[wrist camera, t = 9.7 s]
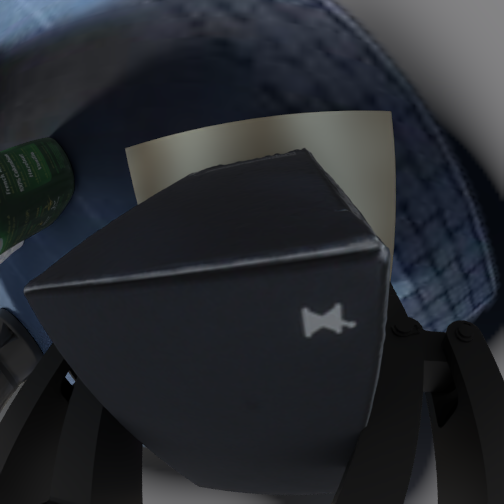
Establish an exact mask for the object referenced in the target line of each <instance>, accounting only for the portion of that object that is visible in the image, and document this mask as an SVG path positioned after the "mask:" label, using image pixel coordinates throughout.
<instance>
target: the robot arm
mask: <svg viewBox="0 0 504 504" xmlns="http://www.w3.org/2000/svg"><path fill="white" fill-rule="evenodd" d="M385 333H386V336H385V340H384V344H383V354H382V359H381V366H380V372H379V378H378V383H377V387H376V391H375V395H374V400H373V405H372V409H371V413H370V417H369V420H368V423H367V426H366V427H365V428H364V429H363V430H362V431H361V433H360V436H359V439H358V441H357V443H356V446H355V448H354V451H353V453H352V455H351V457H350V460H349V462H348V464H347V466H346V469H345V471H344V474H343V477H342V479H341V482H340V484H339V487H338V489H337V491H336V494H335V496H334V499H333V501H332V503H331V504H403V503H404V499H405V496H406V492H407V489H408V485H409V481H410V477H411V472H412V468H413V463H414V458H415V452H416V447H417V441H418V434H419V427H420V418H421V409H422V397H423V392H425V395H426V400H427V405H428V410H429V416H430V421H431V428H432V434H433V442H434V449H435V459H436V470H437V487H438V504H504V380H503V378H502V375H501V373H500V371H499V368H498V366H497V364H496V362H495V359H494V357H493V355H492V353H491V351H490V349H489V347H488V345H487V343H486V341H485V339H484V337H483V335H482V333H481V332H480V330H479V329H478V327H477V326H475V325H474V324H472V323H470V322H467V321H455V322H452V323H451V324H450V325H449V326H448V328H447V331H446V333H444V332H431V331H426V330H423V328H422V326H421V324H420V323H419V322H418V321H416V320H414V319H413V318H410V317H408V316H407V314H406V312H405V309H404V307H403V305H402V303H401V302H400V300H399V298H398V296H397V295H396V292H395V290H394V289H393V286H392V284H391V282H390V283H389V297H388V308H387V322H386V326H385ZM68 372H69V374H70V375H71V376H72V378H73V379H74V380H75V383H74V384H73V385H71V384H70V383H69V381H68V380H67V379H66V378H65V376H66V375H67V373H68ZM23 382H25V383H24V385H23V386H22V388H21V389H20V391H19V392H18V394H17V395H16V397H15V399H14V400H13V402H12V403H11V405H10V407H9V409H8V410H7V412H6V414H5V416H4V417H3V419H2V421H1V422H0V504H143V503H142V443H141V442H140V441H139V440H138V439H137V438H136V437H134V436H133V435H132V434H131V433H130V432H129V431H128V430H127V429H126V428H125V427H124V426H123V425H122V424H121V423H120V422H119V421H118V420H117V419H116V418H115V417H114V416H113V415H112V414H111V413H110V412H109V411H108V410H107V409H106V408H105V407H104V406H103V405H102V404H101V403H100V402H99V400H98V399H97V398H96V397H95V396H94V395H93V394H92V393H91V391H90V390H89V389H88V388H87V387H86V386H85V384H84V383H83V382H82V381H81V380H80V378H79V377H78V376H77V374H76V373H75V372H74V371H73V369H72V368H71V367H70V365H69V364H68V363H67V361H66V360H65V359H64V357H63V356H62V355H61V353H60V352H59V350H58V349H57V348H56V346H55V345H54V343H52V345H51V346H50V347H49V349H48V350H47V351H46V353H45V354H44V356H43V354H42V352H41V350H40V348H39V347H38V345H37V344H36V342H35V341H34V339H33V338H32V337H31V335H30V334H29V333H28V331H27V330H26V329H25V328H24V326H23V325H22V324H21V323H20V322H19V321H18V320H17V319H16V318H15V317H14V316H13V315H12V314H11V313H10V312H8V311H7V310H5V309H0V412H1V411H2V410H3V408H4V407H5V405H6V404H7V402H8V401H9V399H10V398H11V396H12V395H13V393H14V392H15V391H16V389H17V388H18V387H19V385H20V384H22V383H23Z"/></svg>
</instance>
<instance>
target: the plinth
mask: <svg viewBox="0 0 504 504" xmlns="http://www.w3.org/2000/svg"><path fill="white" fill-rule="evenodd" d="M302 148H306V149H307V150H308V151H309V152H311V153H312V155H313V156H314V158H315V159H316V161H317V162H318V163H319V164H320V166H322V168H323V169H324V171H325V172H327V173H328V174H329V175H330V176H331V177H332V178H333V179H334V181H335V182H336V184H338V185H339V187H340V188H341V189H342V190H343V191H344V193H345V194H346V195H347V196H348V197H349V198H350V200H351V201H352V203H353V204H354V205H355V206H356V207H357V209H358V210H359V211H360V212H361V213H362V215H363V216H364V218H365V219H366V221H367V222H368V224H369V225H370V226H371V228H372V229H373V231H374V233H375V234H376V235H377V236H378V237H379V238H380V239H381V241H382V242H383V243H384V244H385V245H386V246H387V247H388V248H389V250H390V254H391V263H390V281H391V272H392V262H393V250H394V236H395V213H396V173H395V150H394V136H393V125H392V115H391V111H329V112H312V113H299V114H288V115H279V116H270V117H262V118H255V119H248V120H242V121H236V122H230V123H224V124H219V125H214V126H209V127H204V128H199V129H195V130H190V131H186V132H182V133H178V134H174V135H170V136H166V137H162V138H158V139H155V140H151V141H148V142H144V143H141V144H138V145H134V146H131V147H128V148H125V150H126V155H127V160H128V165H129V170H130V174H131V179H132V183H133V187H134V191H135V195H136V199H137V203H138V204H140V203H142V202H144V201H145V200H147V199H148V198H150V197H151V196H153V195H154V194H157V193H158V192H160V191H161V190H163V189H165V188H167V187H168V186H170V185H172V184H174V183H175V182H177V181H179V180H180V179H182V178H184V177H186V176H187V175H189V174H191V173H195V172H199V171H201V170H204V169H206V168H210V167H212V166H217V165H219V164H222V165H227V164H232V163H235V162H238V161H246V160H252V159H255V158H262V157H264V156H267V155H271V156H272V155H274V154H276V153H279V154H284V153H288V152H289V151H293V150H296V149H299V150H301V149H302Z"/></svg>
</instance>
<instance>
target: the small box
mask: <svg viewBox="0 0 504 504" xmlns="http://www.w3.org/2000/svg"><path fill="white" fill-rule="evenodd" d="M390 263H391V254H390V250H389V248H388V247H387V246H386V245H385V244H384V243H383V242H382V241H381V239H380V238H379V237H378V236H377V235H376V234H375V233H374V231H373V229H372V228H371V226H370V225H369V224H368V222H367V221H366V219H365V218H364V216H363V215H362V213H361V212H360V211H359V210H358V209H357V207H356V206H355V205H354V204H353V203H352V201H351V200H350V198H349V197H348V196H347V195H346V194H345V193H344V191H343V190H342V189H341V188H340V187H339V185H338V184H336V182H335V181H334V179H333V178H332V177H331V176H330V175H329V174H328V173H327V172H325V171H324V169H323V168H322V166H320V164H319V163H318V162H317V161H316V159H315V158H314V156H313V155H312V153H311V152H309V151H308V150H307V149H306V148H302V149H301V150H299V149H296V150H293V151H289V152H288V153H284V154H279V153H276V154H274V155H272V156H271V155H267V156H264V157H262V158H255V159H252V160H246V161H238V162H235V163H232V164H227V165H222V164H219V165H217V166H212V167H210V168H206V169H204V170H201V171H199V172H195V173H191V174H189V175H187V176H186V177H184V178H182V179H180V180H179V181H177V182H175V183H174V184H172V185H170V186H168V187H167V188H165V189H163V190H161V191H160V192H158V193H157V194H154V195H153V196H151V197H150V198H148V199H147V200H145V201H144V202H142V203H140V204H138V205H137V206H135V207H133V208H132V209H131V210H129V211H128V212H126V213H124V214H123V215H121V216H119V217H118V218H117V219H115V220H113V221H111V222H110V223H109V224H108V225H107V226H105V227H103V228H102V229H100V230H98V231H97V232H95V233H94V234H93V235H91V236H90V237H88V238H87V239H86V240H84V241H83V242H82V243H81V244H79V245H78V246H76V247H75V248H74V249H72V250H71V251H70V252H68V253H67V254H66V255H65V256H63V257H62V258H61V259H59V260H58V261H57V262H56V263H54V264H53V265H52V266H51V267H49V268H48V269H47V270H46V271H45V272H43V273H42V274H40V275H39V276H38V277H36V278H34V279H33V280H31V281H30V282H29V283H28V284H27V285H26V286H25V287H24V295H25V297H26V298H27V300H28V302H29V304H30V306H31V308H32V310H33V311H34V313H35V315H36V316H37V318H38V320H39V322H40V323H41V325H42V326H43V328H44V329H45V331H46V332H47V334H48V336H49V337H50V339H51V340H52V342H53V343H54V345H55V346H56V348H57V349H58V350H59V352H60V353H61V355H62V356H63V357H64V359H65V360H66V361H67V363H68V364H69V365H70V367H71V368H72V369H73V371H74V372H75V373H76V374H77V376H78V377H79V378H80V380H81V381H82V382H83V383H84V384H85V386H86V387H87V388H88V389H89V390H90V391H91V393H92V394H93V395H94V396H95V397H96V398H97V399H98V400H99V402H100V403H101V404H102V405H103V406H104V407H105V408H106V409H107V410H108V411H109V412H110V413H111V414H112V415H113V416H114V417H115V418H116V419H117V420H118V421H119V422H120V423H121V424H122V425H123V426H124V427H125V428H126V429H127V430H128V431H129V432H130V433H131V434H132V435H133V436H134V437H136V438H137V439H138V440H139V441H140V442H141V443H142V444H143V445H145V446H146V447H147V448H148V449H149V450H150V451H152V452H153V453H154V454H155V455H157V456H158V457H159V458H160V459H161V460H163V461H164V462H166V463H167V464H168V465H169V466H170V467H172V468H173V469H174V470H176V471H177V472H179V473H180V474H181V475H183V476H184V477H186V478H187V479H189V480H190V481H191V482H193V483H194V484H196V485H197V486H199V487H205V488H211V489H218V490H225V491H233V492H243V493H253V494H271V495H307V494H325V493H336V491H337V489H338V487H339V484H340V482H341V479H342V477H343V474H344V471H345V469H346V466H347V464H348V462H349V460H350V457H351V455H352V453H353V451H354V448H355V446H356V443H357V441H358V439H359V436H360V433H361V431H362V430H363V429H364V428H365V427H366V426H367V423H368V420H369V417H370V413H371V409H372V405H373V400H374V395H375V391H376V387H377V383H378V378H379V372H380V366H381V359H382V354H383V344H384V340H385V336H386V333H385V326H386V322H387V308H388V297H389V283H390Z"/></svg>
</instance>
